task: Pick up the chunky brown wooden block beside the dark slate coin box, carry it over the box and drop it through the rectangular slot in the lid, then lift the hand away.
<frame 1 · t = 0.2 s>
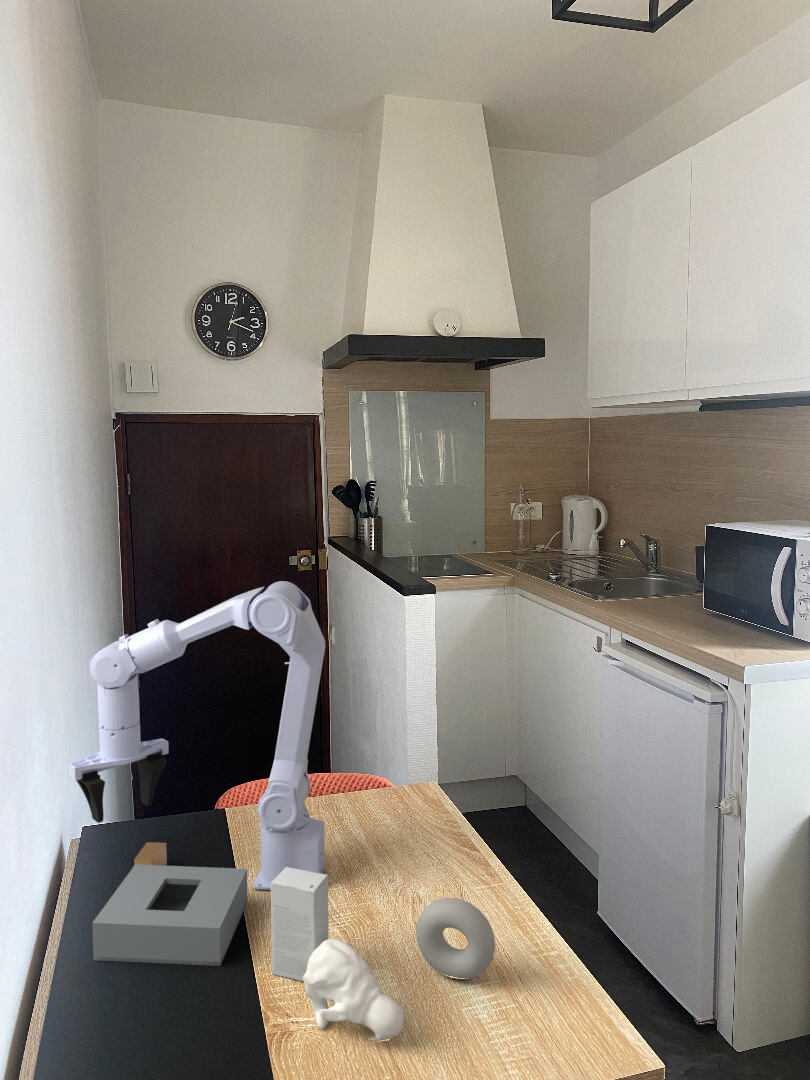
hand: (122, 811, 120), 10 cm above the table, tool pointing down, fingers open, 7 cm apart
skincare box: (300, 971, 99), on the table
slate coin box: (175, 929, 107), on the table
donut: (454, 978, 98), on the table
brown wooden block: (151, 876, 120), on the table
white animal sculpture: (356, 1027, 90), on the table
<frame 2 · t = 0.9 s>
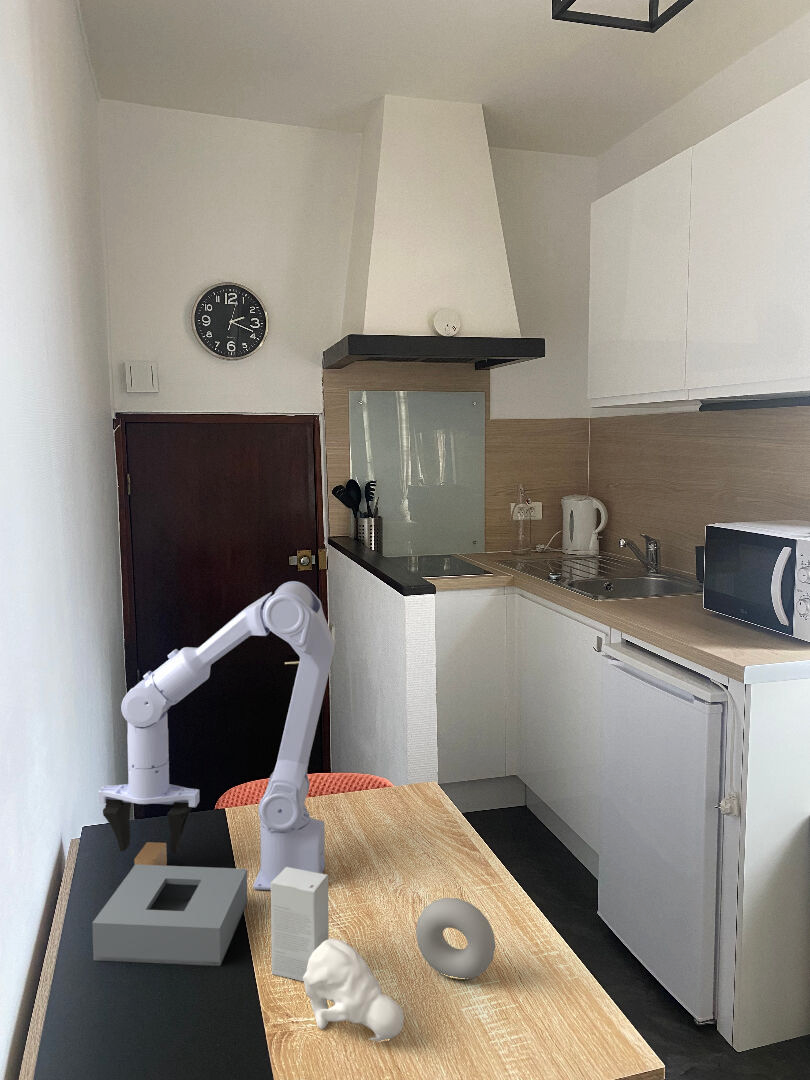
hand: (150, 849, 120), 4 cm above the table, tool pointing down, fingers open, 7 cm apart
nothing on the table moved.
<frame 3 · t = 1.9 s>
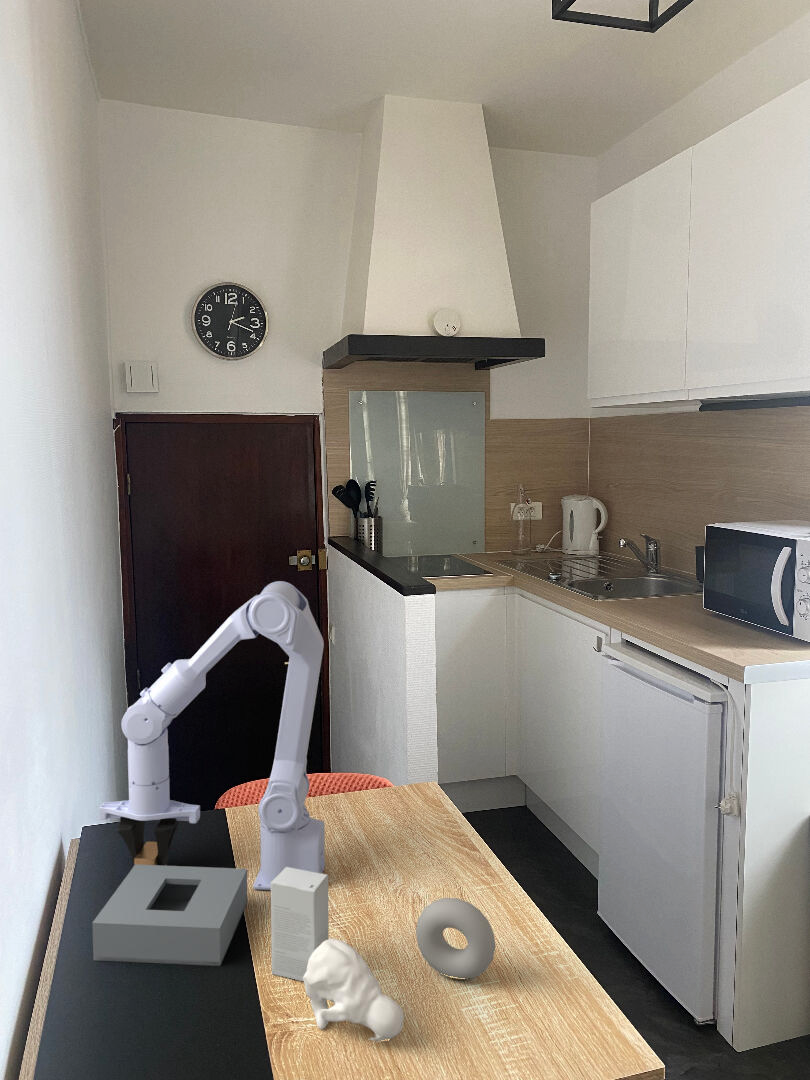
hand: (151, 865, 120), 2 cm above the table, tool pointing down, fingers closed on brown wooden block, 3 cm apart
brown wooden block: (151, 875, 120), on the table, touching gripper
everything else where it was.
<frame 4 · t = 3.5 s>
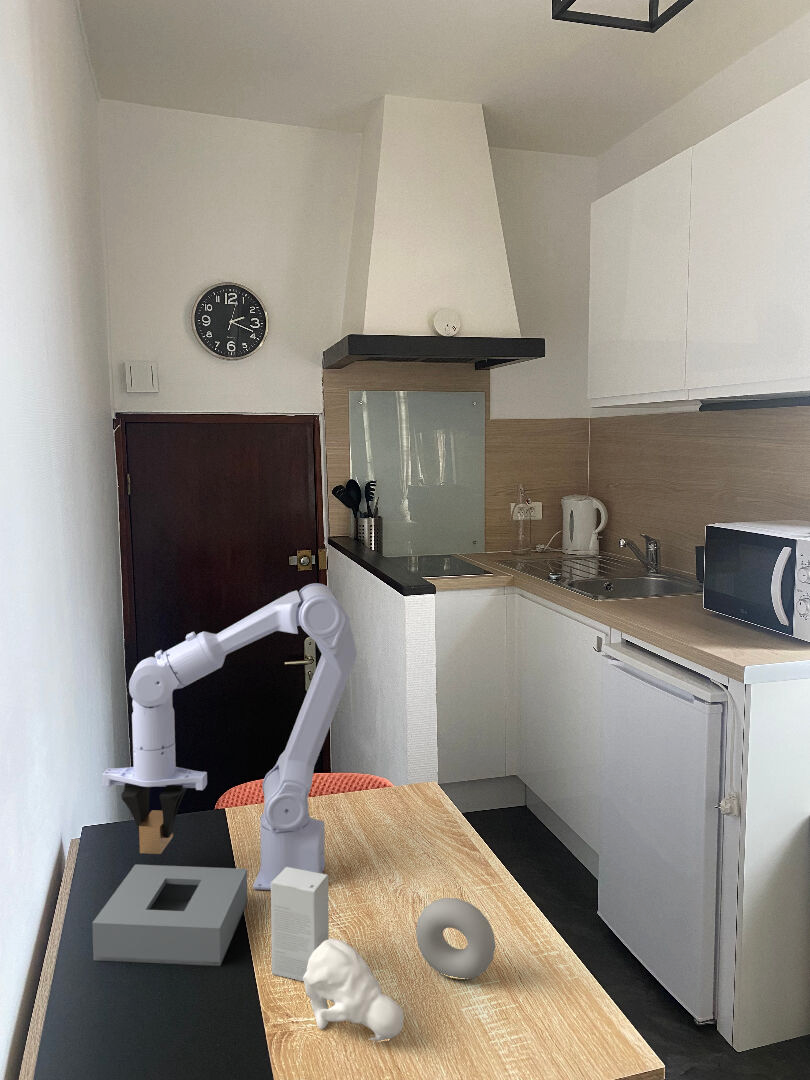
hand: (156, 834, 116), 8 cm above the table, tool pointing down, fingers closed on brown wooden block, 3 cm apart
brown wooden block: (156, 844, 116), point 7 cm above the table, touching gripper
everything else where it was.
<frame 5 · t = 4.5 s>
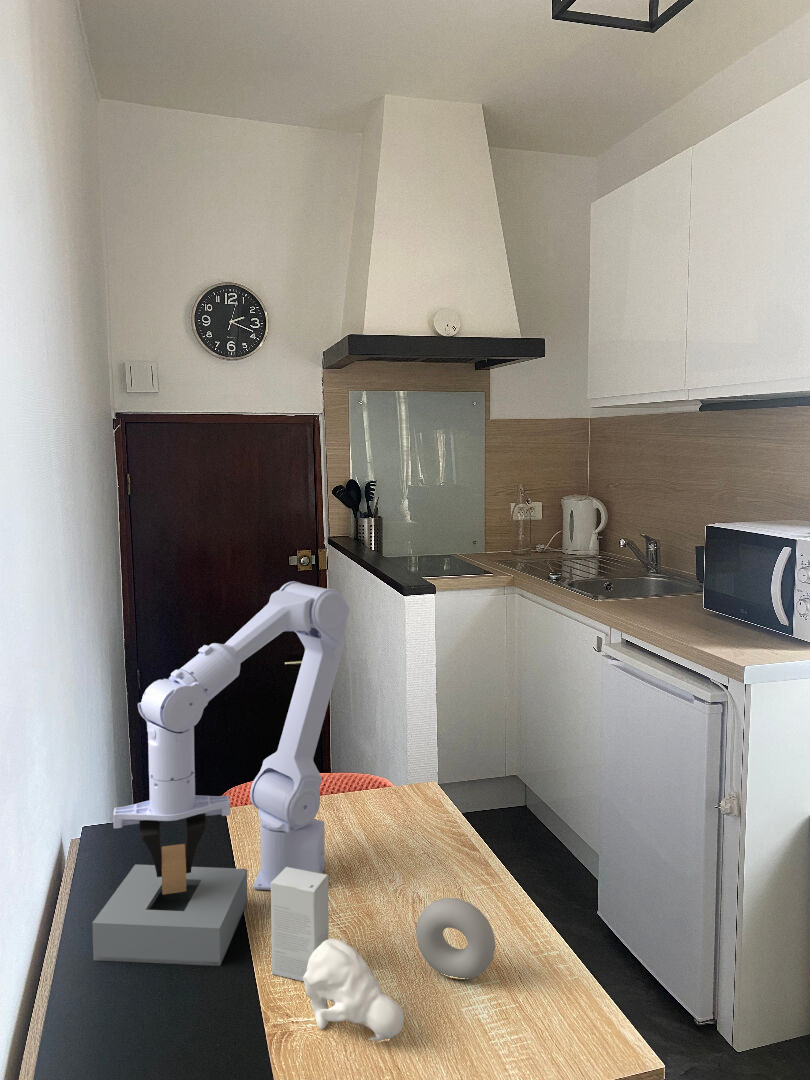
hand: (174, 871, 106), 8 cm above the table, tool pointing down, fingers closed on brown wooden block, 3 cm apart
brown wooden block: (174, 882, 106), point 7 cm above the table, touching gripper
everything else where it was.
when the fingers open (8 cm above the table, at t = 5.0 s): brown wooden block drops 6 cm, resting on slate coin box.
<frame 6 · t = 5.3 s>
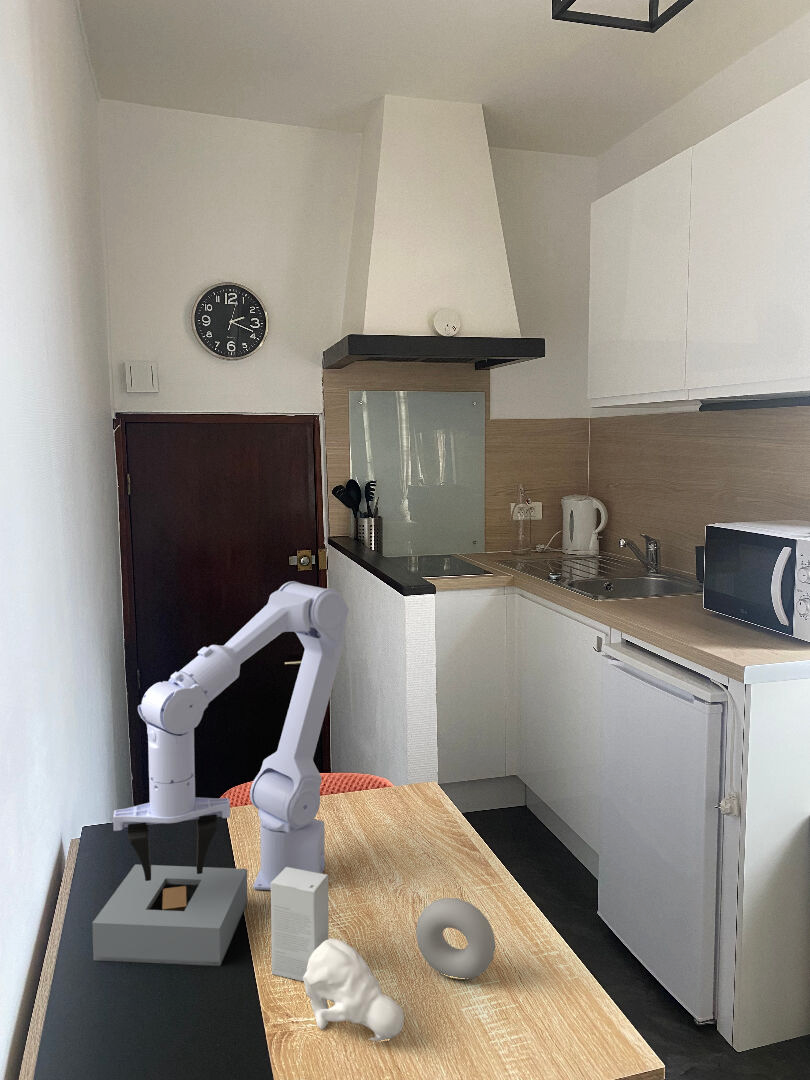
hand: (174, 873, 106), 8 cm above the table, tool pointing down, fingers open, 6 cm apart
brown wooden block: (175, 925, 107), resting on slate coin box
everything else where it was.
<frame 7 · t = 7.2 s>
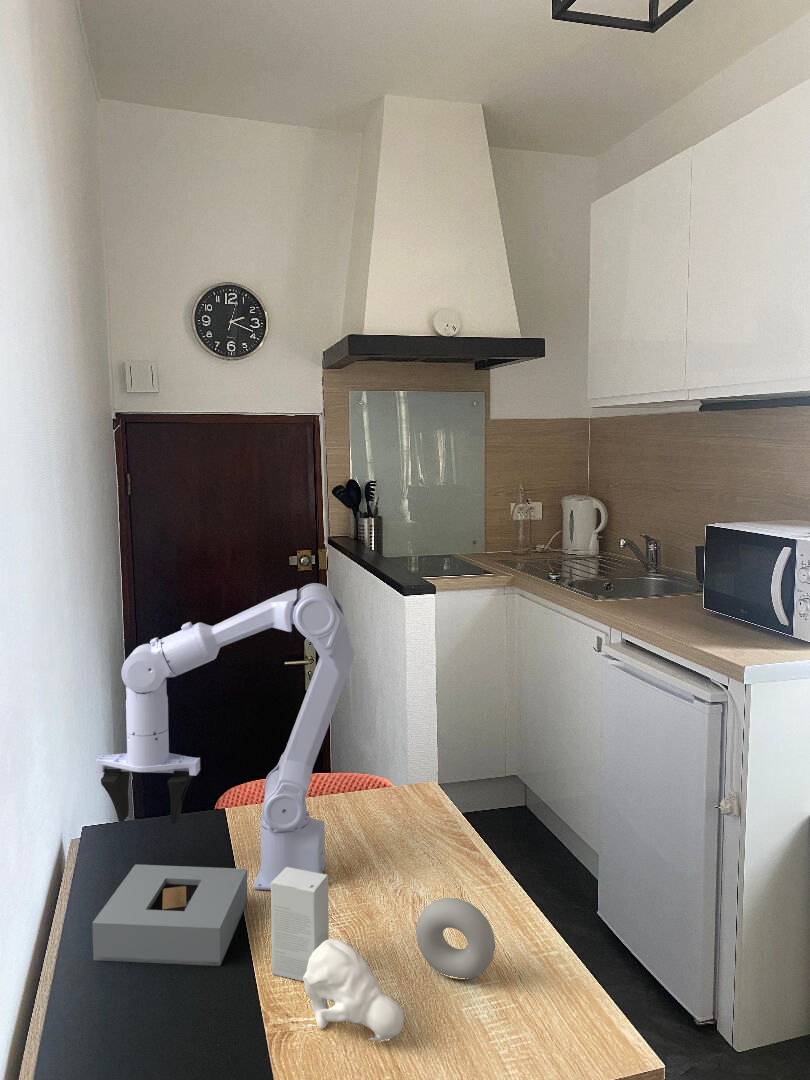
hand: (149, 819, 117), 10 cm above the table, tool pointing down, fingers open, 7 cm apart
nothing on the table moved.
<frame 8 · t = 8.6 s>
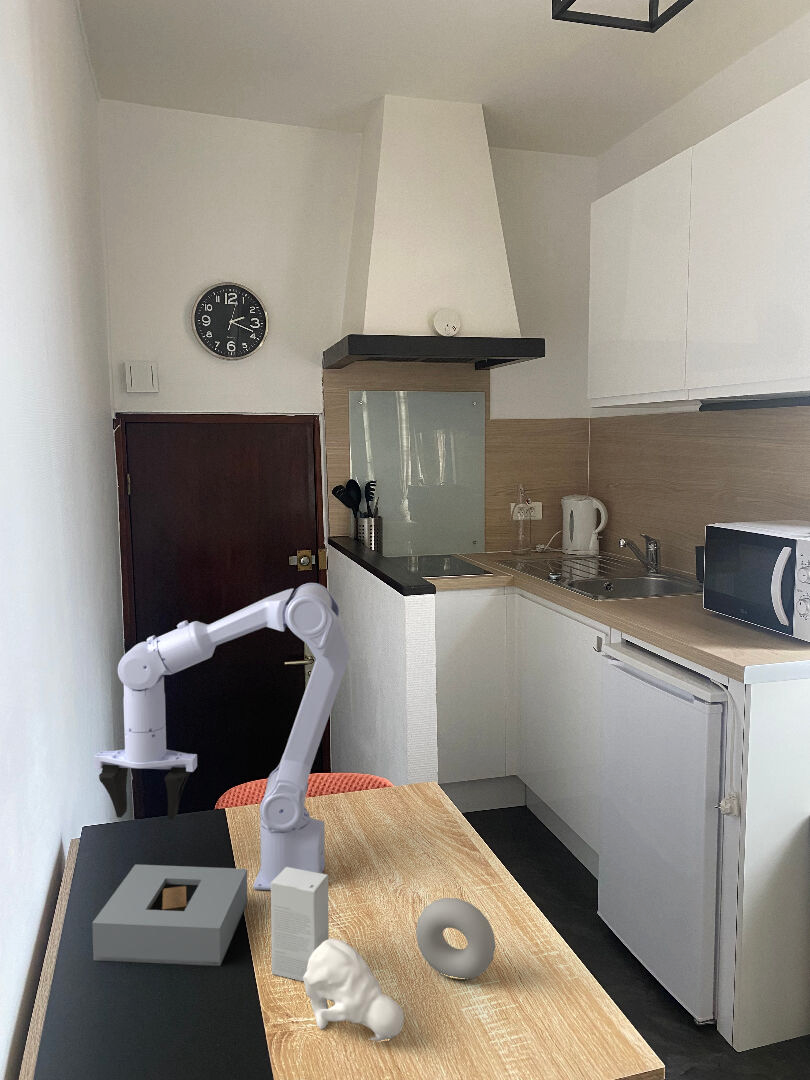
hand: (147, 815, 118), 10 cm above the table, tool pointing down, fingers open, 7 cm apart
nothing on the table moved.
at the end: brown wooden block inside the target area on the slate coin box (0.1 cm from its centre), point 0.5 cm above the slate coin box's base; the gripper is holding nothing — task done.
